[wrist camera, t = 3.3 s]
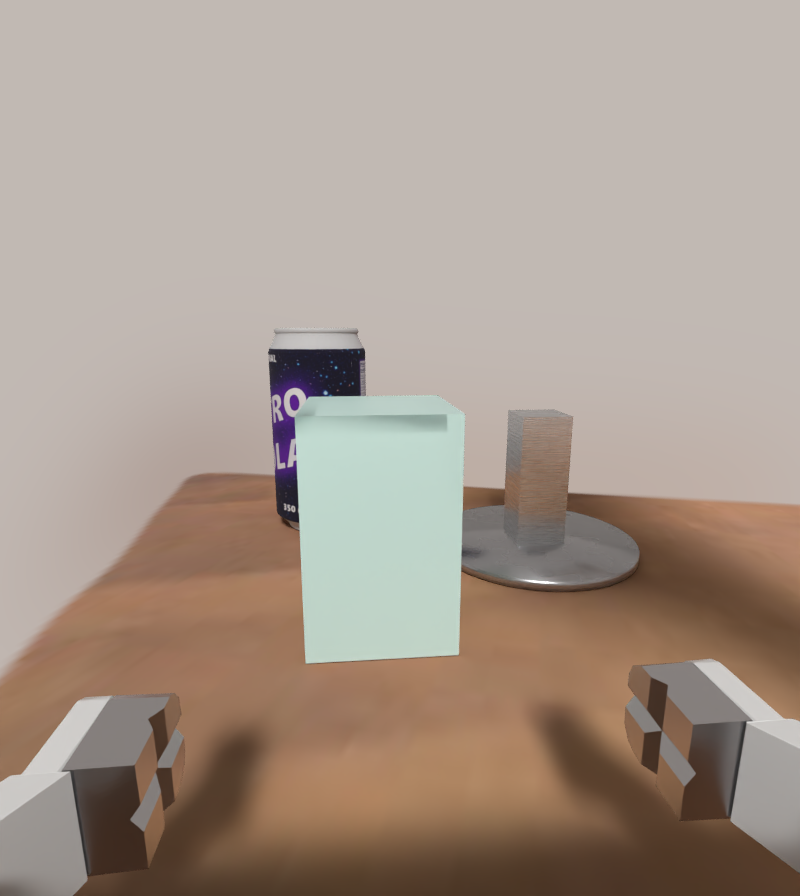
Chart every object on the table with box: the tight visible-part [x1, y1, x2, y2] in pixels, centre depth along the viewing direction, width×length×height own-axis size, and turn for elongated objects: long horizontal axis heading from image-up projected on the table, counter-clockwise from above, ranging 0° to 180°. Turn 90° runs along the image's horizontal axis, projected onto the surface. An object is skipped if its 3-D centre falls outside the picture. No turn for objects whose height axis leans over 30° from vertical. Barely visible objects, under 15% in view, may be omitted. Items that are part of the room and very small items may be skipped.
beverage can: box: [268, 328, 366, 530], centre depth 32 cm, size 6×6×12 cm
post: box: [461, 410, 639, 592], centre depth 28 cm, size 11×11×8 cm
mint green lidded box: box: [295, 395, 465, 663], centre depth 21 cm, size 6×6×9 cm
